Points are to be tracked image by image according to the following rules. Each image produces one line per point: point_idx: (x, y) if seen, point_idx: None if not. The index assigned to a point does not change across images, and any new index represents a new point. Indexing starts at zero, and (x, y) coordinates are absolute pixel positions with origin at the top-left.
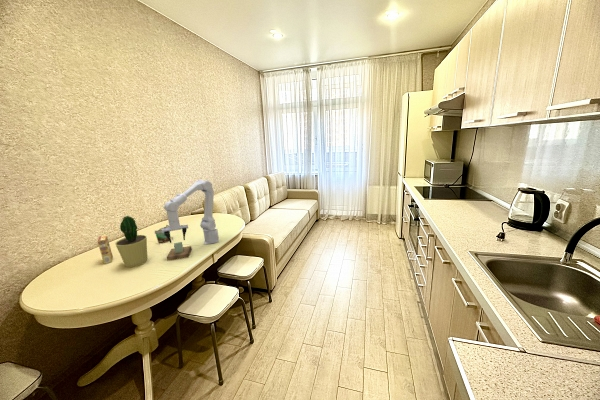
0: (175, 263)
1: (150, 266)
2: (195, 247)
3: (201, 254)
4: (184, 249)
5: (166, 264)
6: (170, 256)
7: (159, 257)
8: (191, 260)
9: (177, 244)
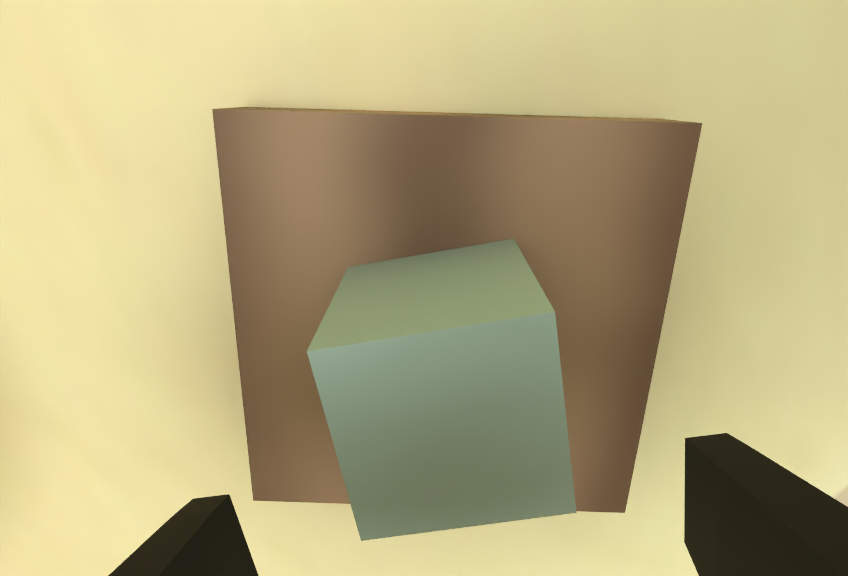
0: (428, 571)
1: (84, 537)
2: (749, 34)
3: (816, 433)
4: (547, 287)
5: (303, 557)
6: (321, 502)
7: (75, 279)
8: (647, 565)
9: (442, 478)
